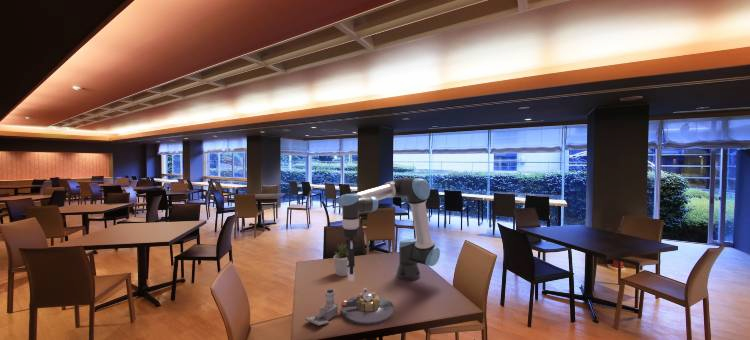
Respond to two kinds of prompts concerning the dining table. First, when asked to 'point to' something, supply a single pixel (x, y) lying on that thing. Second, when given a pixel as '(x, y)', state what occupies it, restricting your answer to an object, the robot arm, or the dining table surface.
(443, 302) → the dining table surface
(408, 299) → the dining table surface
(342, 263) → the potted plant
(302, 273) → the dining table surface
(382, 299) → the cap plate
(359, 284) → the dining table surface
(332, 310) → the camera
